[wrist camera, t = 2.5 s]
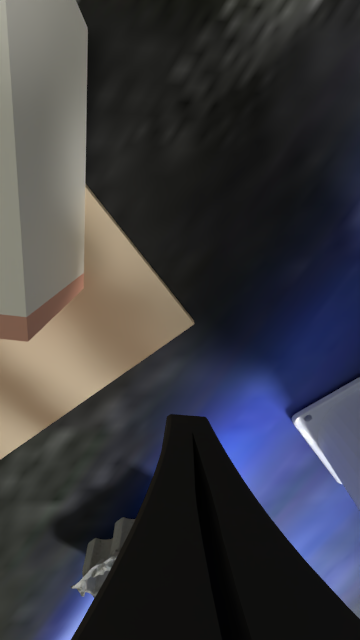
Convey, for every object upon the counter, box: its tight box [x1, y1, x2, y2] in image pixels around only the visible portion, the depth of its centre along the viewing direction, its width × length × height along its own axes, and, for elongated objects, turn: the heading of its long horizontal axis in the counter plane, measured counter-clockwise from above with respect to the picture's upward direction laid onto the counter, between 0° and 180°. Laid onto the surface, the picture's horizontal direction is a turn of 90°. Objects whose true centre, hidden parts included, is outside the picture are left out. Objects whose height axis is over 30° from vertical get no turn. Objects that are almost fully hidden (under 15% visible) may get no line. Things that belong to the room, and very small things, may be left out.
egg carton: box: [71, 517, 135, 598], centre depth 21 cm, size 11×8×4 cm
